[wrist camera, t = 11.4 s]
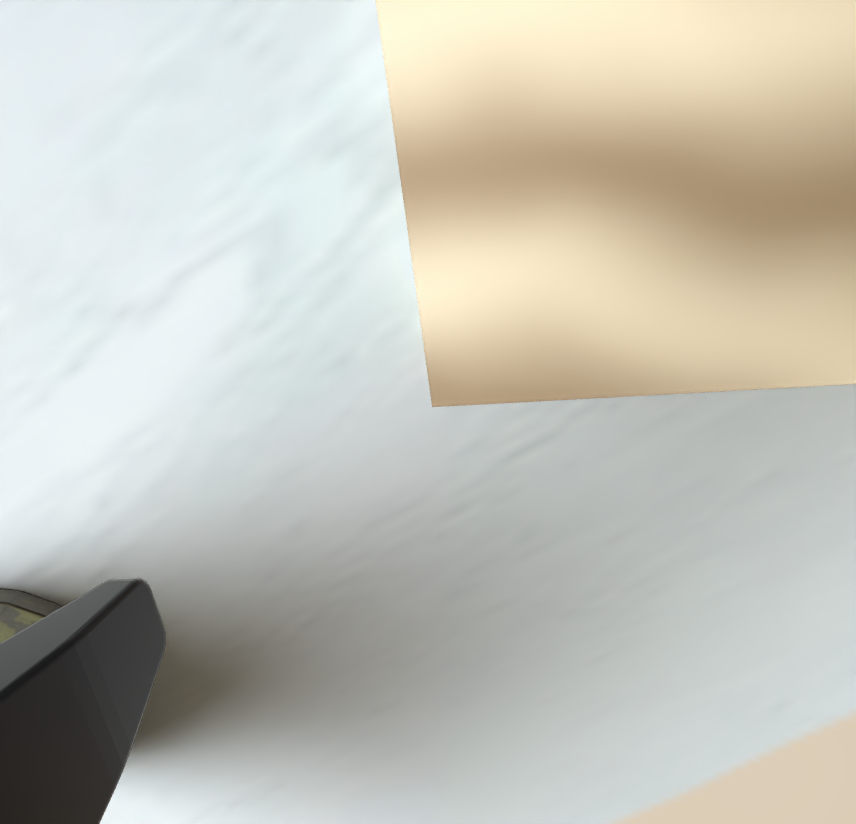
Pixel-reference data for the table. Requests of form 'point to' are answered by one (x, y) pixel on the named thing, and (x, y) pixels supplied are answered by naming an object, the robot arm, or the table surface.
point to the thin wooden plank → (627, 193)
